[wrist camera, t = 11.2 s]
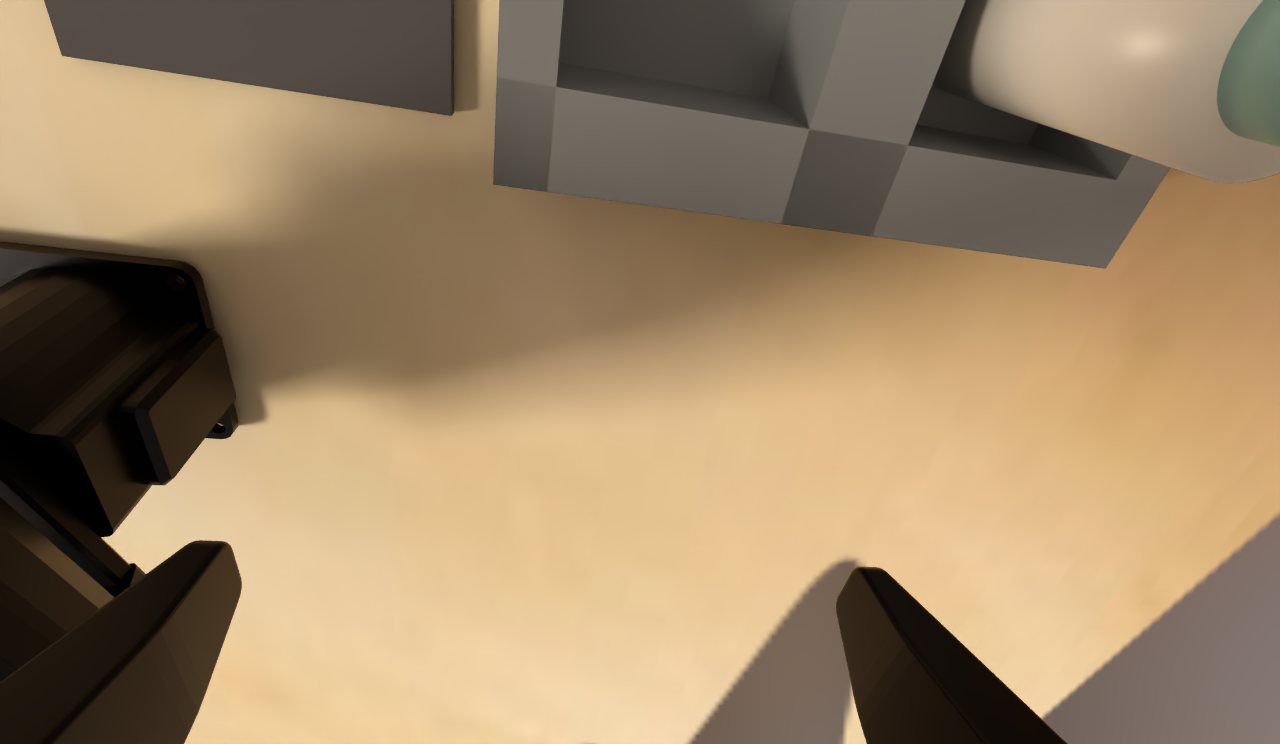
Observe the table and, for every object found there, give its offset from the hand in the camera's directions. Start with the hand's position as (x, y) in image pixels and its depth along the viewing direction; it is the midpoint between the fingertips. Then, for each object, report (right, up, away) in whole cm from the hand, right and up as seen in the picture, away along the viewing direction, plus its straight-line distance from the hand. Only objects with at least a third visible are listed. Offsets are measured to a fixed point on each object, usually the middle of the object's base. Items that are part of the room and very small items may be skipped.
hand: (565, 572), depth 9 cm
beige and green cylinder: (+10, +12, +7) cm, 17 cm away
